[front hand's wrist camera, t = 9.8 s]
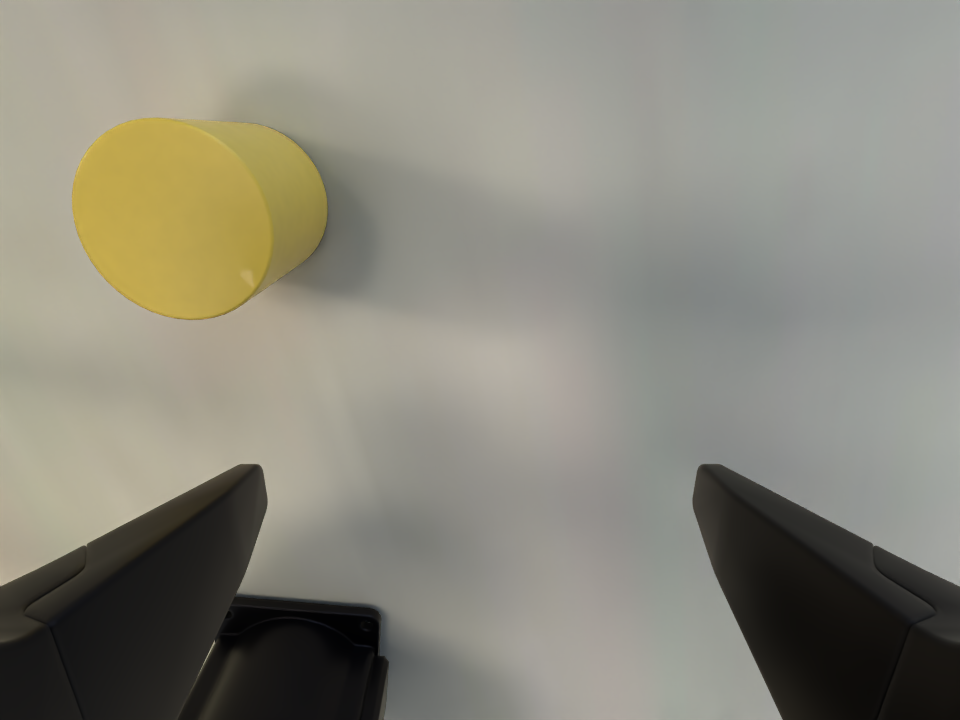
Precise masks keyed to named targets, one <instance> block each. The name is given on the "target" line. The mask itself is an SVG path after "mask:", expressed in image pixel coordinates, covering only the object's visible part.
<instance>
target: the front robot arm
mask: <svg viewBox="0 0 960 720" xmlns="http://www.w3.org/2000/svg"><path fill="white" fill-rule="evenodd" d="M266 509H267V493H266V487H265V480H264V474H263V470H262V468H261V466H260V465H258V464H240V465H237V466H236V467H234V468H232V469H230V470H228V471H226V472H224V473H222V474H220V475H218V476H216V477H214V478H213V479H211V480H209V481H207V482H205V483H203V484H201V485H199V486H197V487H195V488H193V489H191V490H189V491H188V492H186V493H184V494H182V495H180V496H178V497H176V498H174V499H172V500H170V501H168V502H166V503H165V504H163V505H161V506H159V507H157V508H155V509H153V510H151V511H149V512H147V513H145V514H143V515H141V516H140V517H138V518H136V519H134V520H132V521H130V522H128V523H126V524H124V525H122V526H120V527H118V528H117V529H115V530H113V531H111V532H109V533H107V534H105V535H103V536H101V537H99V538H97V539H95V540H93V541H92V542H90V543H88V544H87V547H86V546H82V547H80V548H78V549H76V550H74V551H72V552H70V553H68V554H66V555H64V556H63V557H61V558H59V559H57V560H55V561H53V562H51V563H49V564H47V565H45V566H43V567H41V568H39V569H37V570H35V571H32V572H30V573H28V574H26V575H24V576H22V577H20V578H18V579H15V580H13V581H11V582H9V583H7V584H5V585H3V586H1V587H0V720H383V719H384V713H385V707H386V698H387V682H388V667H389V662H388V660H387V659H386V657H385V656H379V650H380V633H381V615H380V614H379V612H378V611H376V610H374V609H371V608H362V607H350V606H338V605H327V604H315V603H303V602H291V601H279V600H267V599H255V598H243V597H235V595H236V593H237V590H238V588H239V586H240V584H241V582H242V579H243V577H244V575H245V572H246V570H247V567H248V564H249V561H250V558H251V555H252V552H253V549H254V546H255V543H256V540H257V537H258V534H259V531H260V528H261V525H262V522H263V519H264V516H265V513H266ZM693 509H694V513H695V516H696V519H697V522H698V525H699V528H700V531H701V534H702V537H703V540H704V543H705V546H706V549H707V552H708V555H709V558H710V561H711V564H712V567H713V570H714V572H715V575H716V577H717V579H718V582H719V584H720V586H721V588H722V590H723V593H724V595H725V597H726V599H727V601H728V603H729V605H730V608H731V610H732V612H733V614H734V616H735V618H736V620H737V623H738V625H739V627H740V629H741V631H742V633H743V635H744V638H745V640H746V642H747V644H748V646H749V648H750V651H751V653H752V655H753V657H754V659H755V661H756V663H757V666H758V668H759V670H760V672H761V674H762V676H763V678H764V681H765V683H766V685H767V687H768V689H769V691H770V693H771V696H772V698H773V700H774V702H775V704H776V706H777V708H778V711H779V713H780V715H781V717H782V719H783V720H960V587H959V586H957V585H955V584H953V583H951V582H949V581H947V580H945V579H942V578H940V577H938V576H936V575H934V574H932V573H930V572H928V571H925V570H923V569H921V568H919V567H917V566H915V565H913V564H911V563H909V562H907V561H905V560H903V559H901V558H900V557H898V556H896V555H894V554H892V553H890V552H888V551H886V550H884V549H882V548H880V547H878V546H874V547H873V544H872V543H870V542H869V541H867V540H865V539H863V538H861V537H859V536H857V535H855V534H853V533H851V532H849V531H847V530H845V529H844V528H842V527H840V526H838V525H836V524H834V523H832V522H830V521H828V520H826V519H824V518H822V517H820V516H819V515H817V514H815V513H813V512H811V511H809V510H807V509H805V508H803V507H801V506H799V505H797V504H796V503H794V502H792V501H790V500H788V499H786V498H784V497H782V496H780V495H778V494H776V493H774V492H772V491H771V490H769V489H767V488H765V487H763V486H761V485H759V484H757V483H755V482H753V481H751V480H749V479H748V478H746V477H744V476H742V475H740V474H738V473H736V472H734V471H732V470H730V469H728V468H726V467H724V466H723V465H720V464H702V465H700V466H699V468H698V470H697V474H696V481H695V487H694V493H693ZM228 610H229V611H228ZM365 621H370V622H369V623H368V622H365ZM214 640H215V644H214V646H213V648H212V650H211V652H210V654H209V656H208V658H207V660H206V662H205V663H204V661H205V659H206V657H207V655H208V653H209V651H210V648H211V646H212V644H213V642H214ZM203 663H204V665H203ZM202 666H203V667H202ZM201 668H202V669H201ZM200 670H201V671H200ZM199 672H200V673H199ZM198 674H199V675H198ZM197 676H198V677H197ZM196 678H197V679H196Z"/></svg>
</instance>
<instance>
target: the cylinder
mask: <svg viewBox="0 0 960 720" xmlns="http://www.w3.org/2000/svg"><path fill="white" fill-rule="evenodd" d="M72 210H73V216H74V222H75V226H76V229H77V233H78V236H79V238H80V241H81V243H82V245H83V248H84V250H85V251H86V253H87V255H88V257H89V259H90V260H91V262H92V263H93V265H94V266H95V267H96V269H97V270H98V272H99V273H100V274H101V275H102V276H103V277H104V278H105V280H106V281H107V282H108V283H109V284H110V285H111V286H113V287H114V288H115V289H116V290H117V291H118V292H119V293H121V294H122V295H123V296H125V297H126V298H127V299H129V300H130V301H132V302H134V303H135V304H137V305H139V306H141V307H143V308H145V309H147V310H149V311H151V312H154V313H157V314H160V315H163V316H167V317H172V318H177V319H186V320H202V319H209V318H214V317H218V316H221V315H224V314H227V313H229V312H231V311H233V310H235V309H237V308H238V307H240V306H241V305H243V304H244V303H246V302H247V301H248V300H250V299H251V298H253V297H254V296H256V295H257V294H258V293H260V292H261V291H263V290H264V289H266V288H267V287H268V286H270V285H271V284H273V283H274V282H275V281H277V280H278V279H280V278H281V277H283V276H284V275H285V274H287V273H288V272H290V271H291V270H293V269H294V268H295V267H297V266H298V265H300V264H301V263H303V262H304V261H305V260H306V259H307V258H308V257H309V256H310V255H311V254H312V253H313V252H314V251H315V249H316V248H317V246H318V244H319V243H320V241H321V239H322V236H323V234H324V231H325V227H326V223H327V215H328V205H327V197H326V192H325V188H324V184H323V182H322V179H321V177H320V174H319V173H318V171H317V169H316V167H315V165H314V164H313V162H312V161H311V159H310V158H309V157H308V156H307V154H306V153H305V152H304V151H303V150H302V149H301V148H300V147H299V146H298V145H297V144H296V143H295V142H293V141H292V140H291V139H289V138H288V137H286V136H285V135H283V134H281V133H279V132H278V131H276V130H273V129H271V128H268V127H266V126H262V125H257V124H251V123H238V122H222V121H205V120H188V119H171V118H142V119H136V120H131V121H128V122H125V123H122V124H120V125H117V126H115V127H114V128H112V129H110V130H108V131H107V132H105V133H104V134H103V135H102V136H100V137H99V138H98V139H97V140H96V141H95V142H94V143H93V144H92V145H91V146H90V148H89V149H88V150H87V152H86V153H85V155H84V156H83V158H82V160H81V162H80V164H79V166H78V169H77V171H76V175H75V179H74V183H73V192H72Z"/></svg>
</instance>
